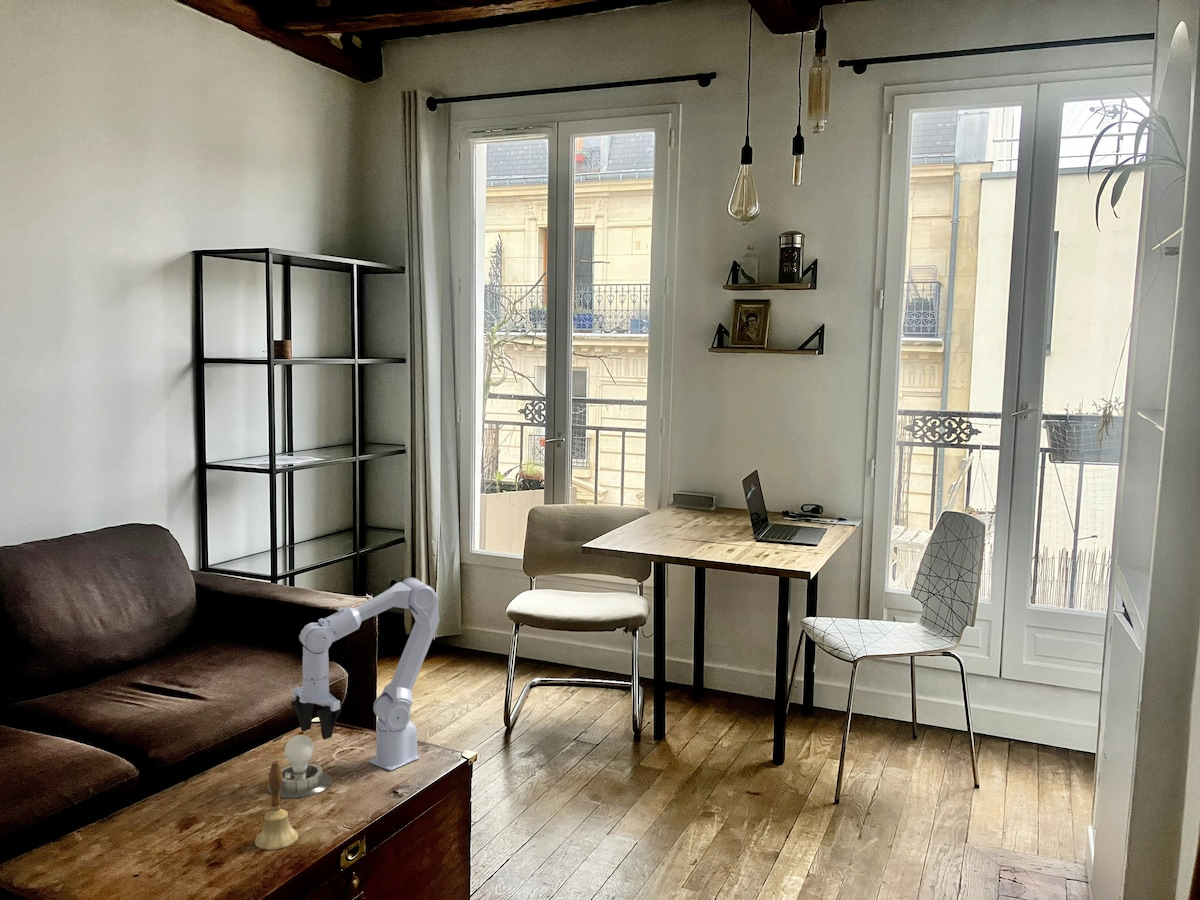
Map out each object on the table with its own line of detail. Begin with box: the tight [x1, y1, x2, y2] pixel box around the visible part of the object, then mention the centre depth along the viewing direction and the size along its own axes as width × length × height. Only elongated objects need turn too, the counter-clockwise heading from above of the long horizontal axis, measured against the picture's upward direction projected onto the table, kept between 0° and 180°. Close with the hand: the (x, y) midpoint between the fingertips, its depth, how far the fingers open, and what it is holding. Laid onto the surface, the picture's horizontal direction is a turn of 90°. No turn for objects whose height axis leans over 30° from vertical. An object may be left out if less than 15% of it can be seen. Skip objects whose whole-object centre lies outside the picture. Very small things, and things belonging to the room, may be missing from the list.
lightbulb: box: [284, 734, 315, 780], centre depth 212 cm, size 6×6×11 cm
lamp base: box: [266, 762, 333, 799], centre depth 212 cm, size 14×14×3 cm
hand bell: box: [254, 760, 299, 851], centre depth 187 cm, size 8×8×16 cm
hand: (316, 733), depth 215 cm, fingers open, 7 cm apart
